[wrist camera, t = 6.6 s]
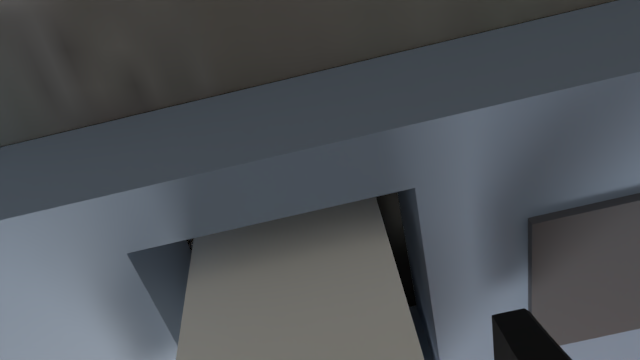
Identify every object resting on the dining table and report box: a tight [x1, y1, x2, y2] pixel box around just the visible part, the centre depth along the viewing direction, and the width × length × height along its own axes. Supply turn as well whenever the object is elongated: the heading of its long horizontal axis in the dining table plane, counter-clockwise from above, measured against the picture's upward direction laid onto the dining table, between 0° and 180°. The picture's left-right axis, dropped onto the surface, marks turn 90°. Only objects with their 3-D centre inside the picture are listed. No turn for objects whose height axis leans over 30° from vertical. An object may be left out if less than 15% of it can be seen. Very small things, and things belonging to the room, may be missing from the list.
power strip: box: [0, 0, 640, 360], centre depth 13 cm, size 20×9×3 cm, turn 102°
